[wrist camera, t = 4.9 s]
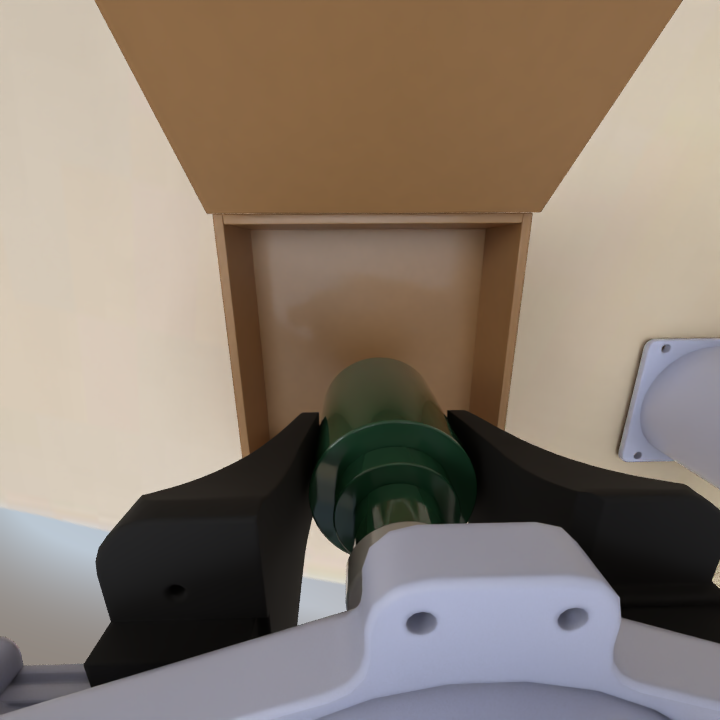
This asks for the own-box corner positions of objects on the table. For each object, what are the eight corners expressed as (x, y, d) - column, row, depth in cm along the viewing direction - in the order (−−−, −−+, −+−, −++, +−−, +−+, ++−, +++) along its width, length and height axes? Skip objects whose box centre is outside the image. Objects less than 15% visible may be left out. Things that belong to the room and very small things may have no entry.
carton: (243, 222, 18) (211, 213, 14) (491, 221, 18) (533, 212, 14) (265, 442, 22) (245, 488, 18) (470, 438, 22) (498, 482, 18)
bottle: (436, 356, 14) (551, 500, 6) (429, 456, 15) (516, 683, 7) (321, 357, 14) (280, 506, 6) (325, 458, 15) (296, 690, 7)
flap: (206, 214, 13) (207, 207, 13) (541, 212, 13) (539, 206, 14) (89, -9, 7) (92, -17, 7) (684, -2, 8) (679, -10, 8)
